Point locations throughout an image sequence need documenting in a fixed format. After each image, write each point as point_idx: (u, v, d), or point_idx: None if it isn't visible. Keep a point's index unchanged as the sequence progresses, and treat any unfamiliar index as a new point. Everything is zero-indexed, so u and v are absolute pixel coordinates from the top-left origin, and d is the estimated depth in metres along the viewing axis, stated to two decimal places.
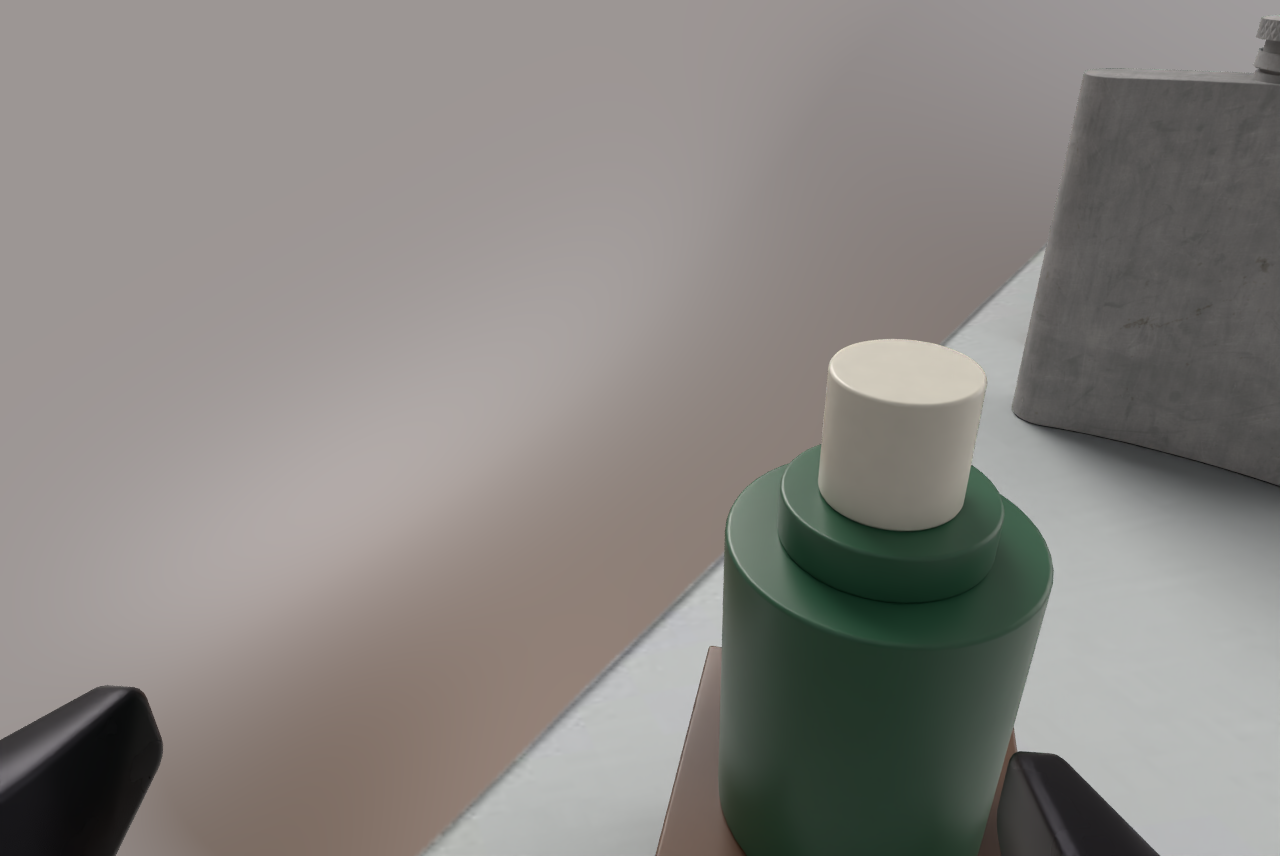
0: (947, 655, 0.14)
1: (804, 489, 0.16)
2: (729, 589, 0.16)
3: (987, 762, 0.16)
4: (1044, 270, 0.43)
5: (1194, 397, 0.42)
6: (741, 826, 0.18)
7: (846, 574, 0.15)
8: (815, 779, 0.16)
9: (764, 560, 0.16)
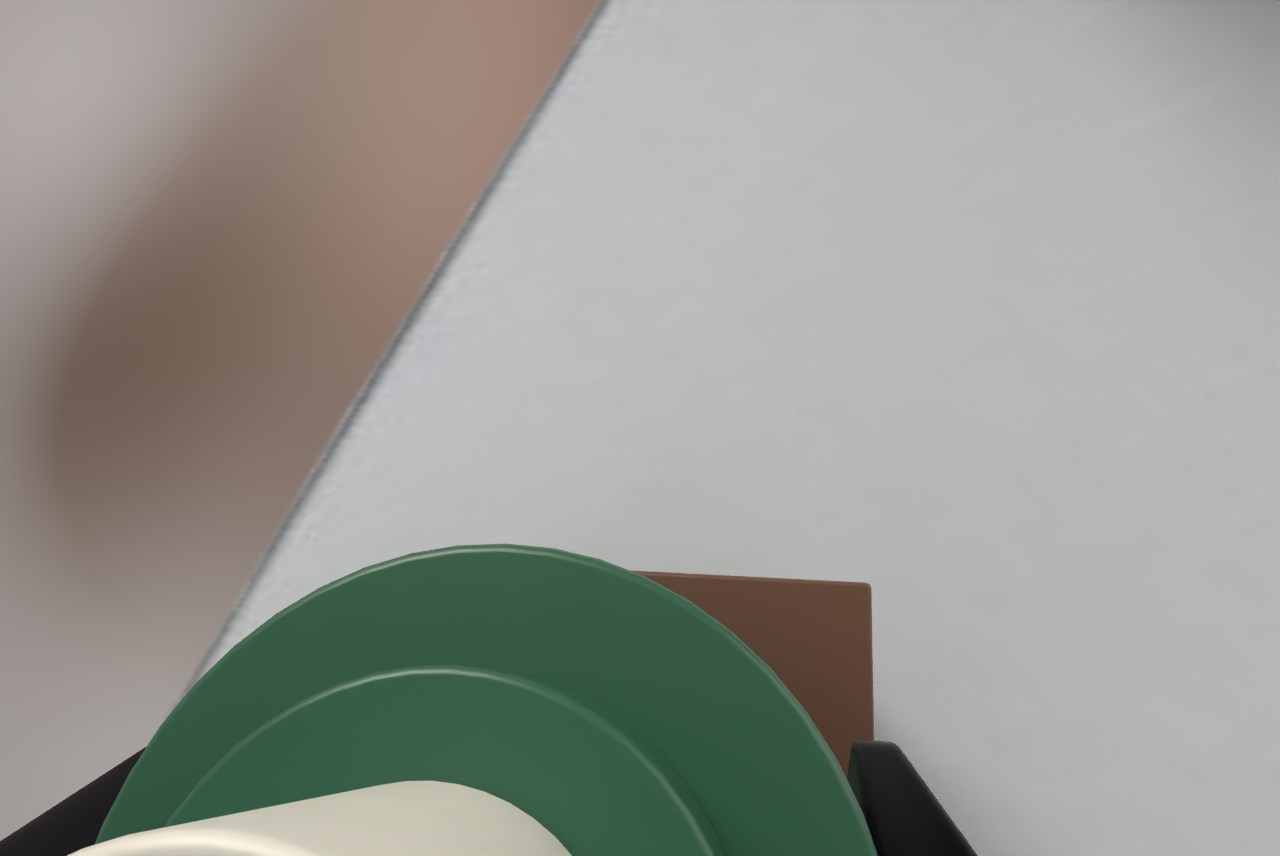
0: None
1: None
2: None
3: None
4: None
5: None
6: None
7: None
8: None
9: None
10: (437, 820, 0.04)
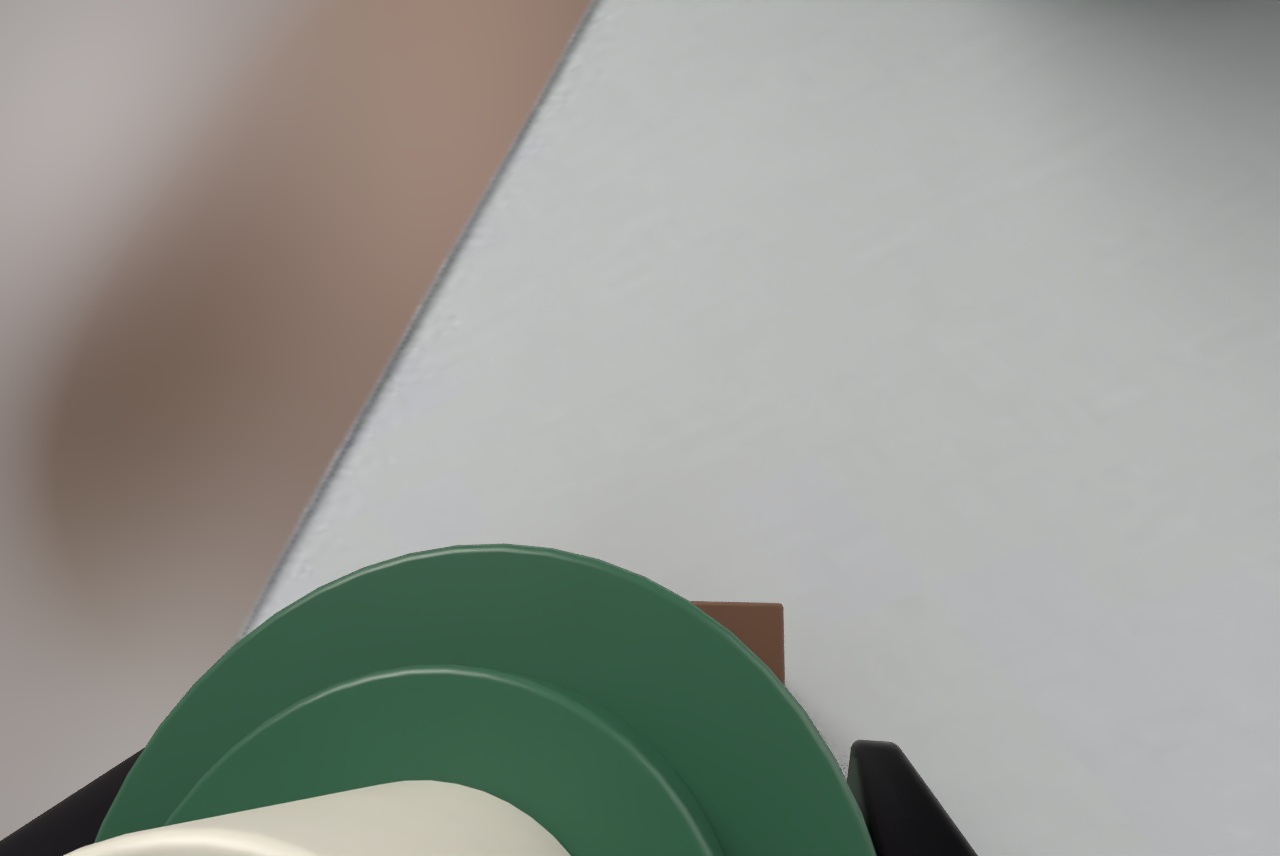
0: None
1: None
2: None
3: None
4: None
5: None
6: None
7: None
8: None
9: None
10: (435, 819, 0.04)
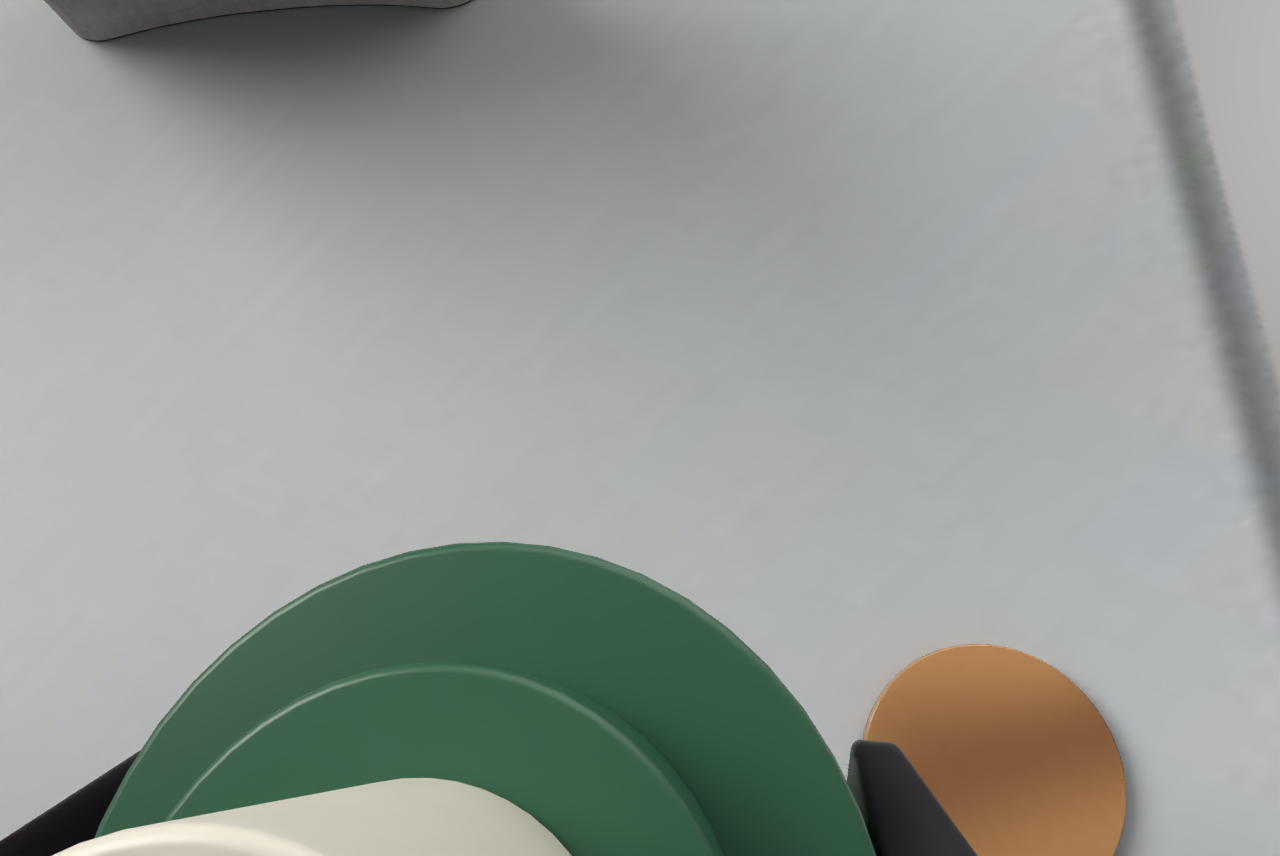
0: None
1: None
2: None
3: None
4: None
5: None
6: None
7: None
8: None
9: None
10: (435, 815, 0.04)
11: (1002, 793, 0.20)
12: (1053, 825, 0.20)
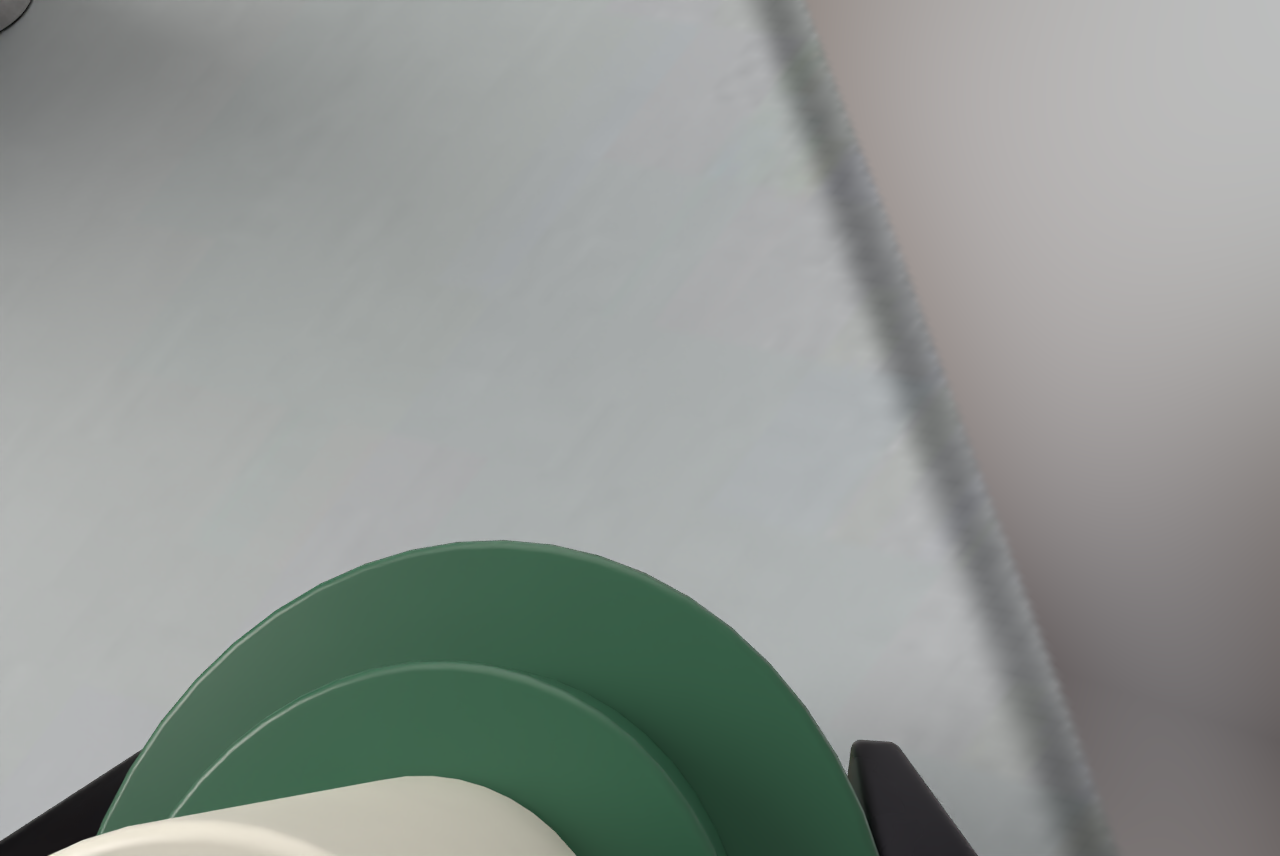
0: None
1: None
2: None
3: None
4: None
5: None
6: None
7: None
8: None
9: None
10: (437, 813, 0.04)
11: None
12: None
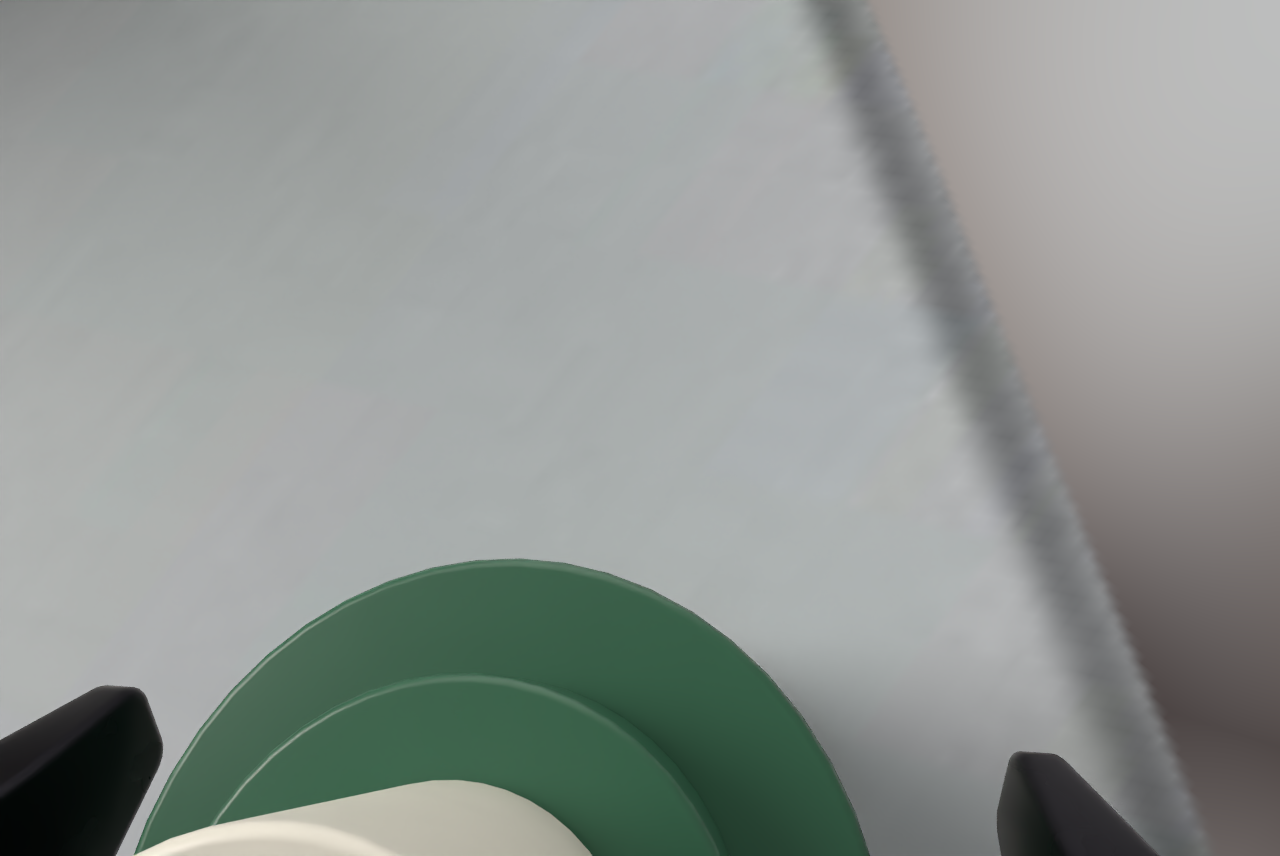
0: None
1: None
2: None
3: None
4: None
5: None
6: None
7: None
8: None
9: None
10: (469, 815, 0.05)
11: None
12: None
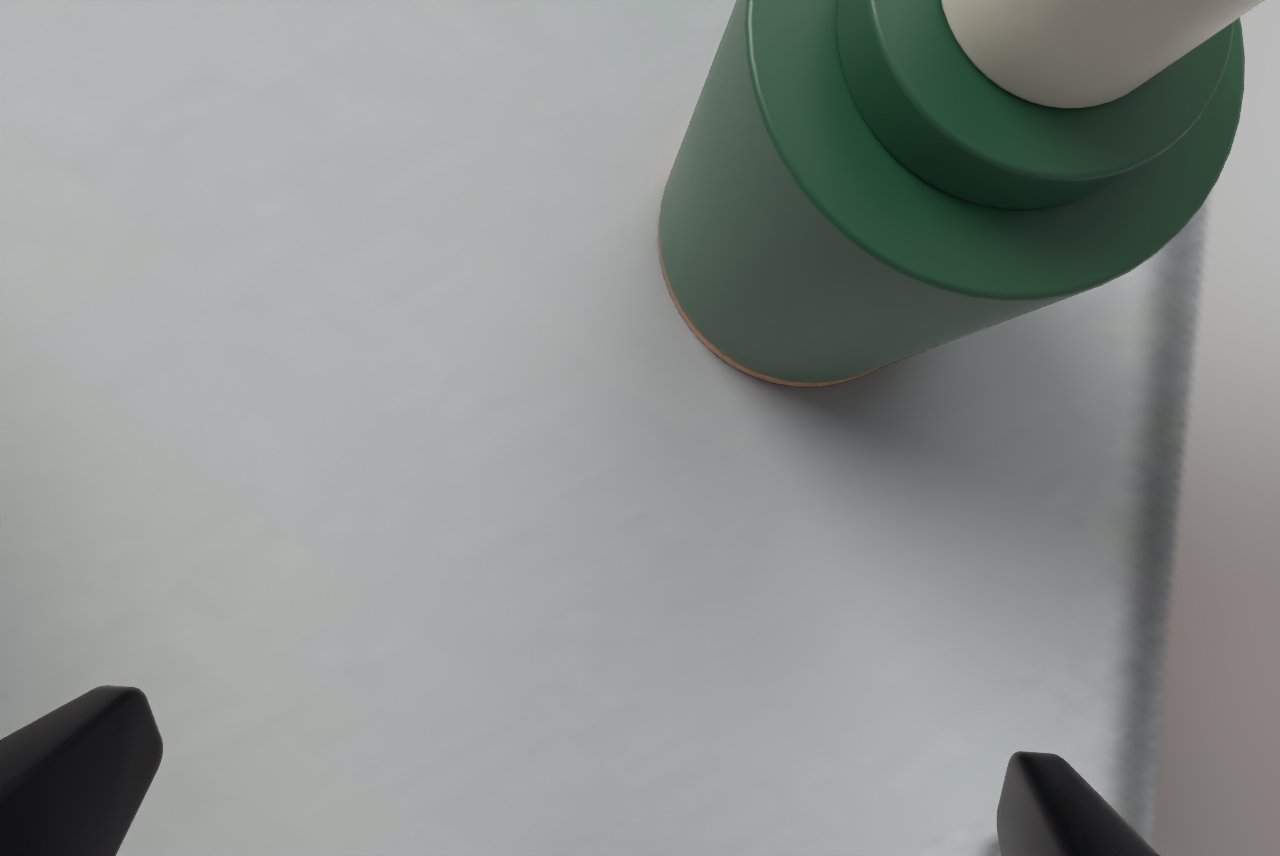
0: (987, 302, 0.10)
1: None
2: (729, 61, 0.10)
3: None
4: None
5: None
6: (672, 266, 0.16)
7: (908, 143, 0.09)
8: (763, 306, 0.13)
9: (795, 53, 0.09)
10: None
11: None
12: None
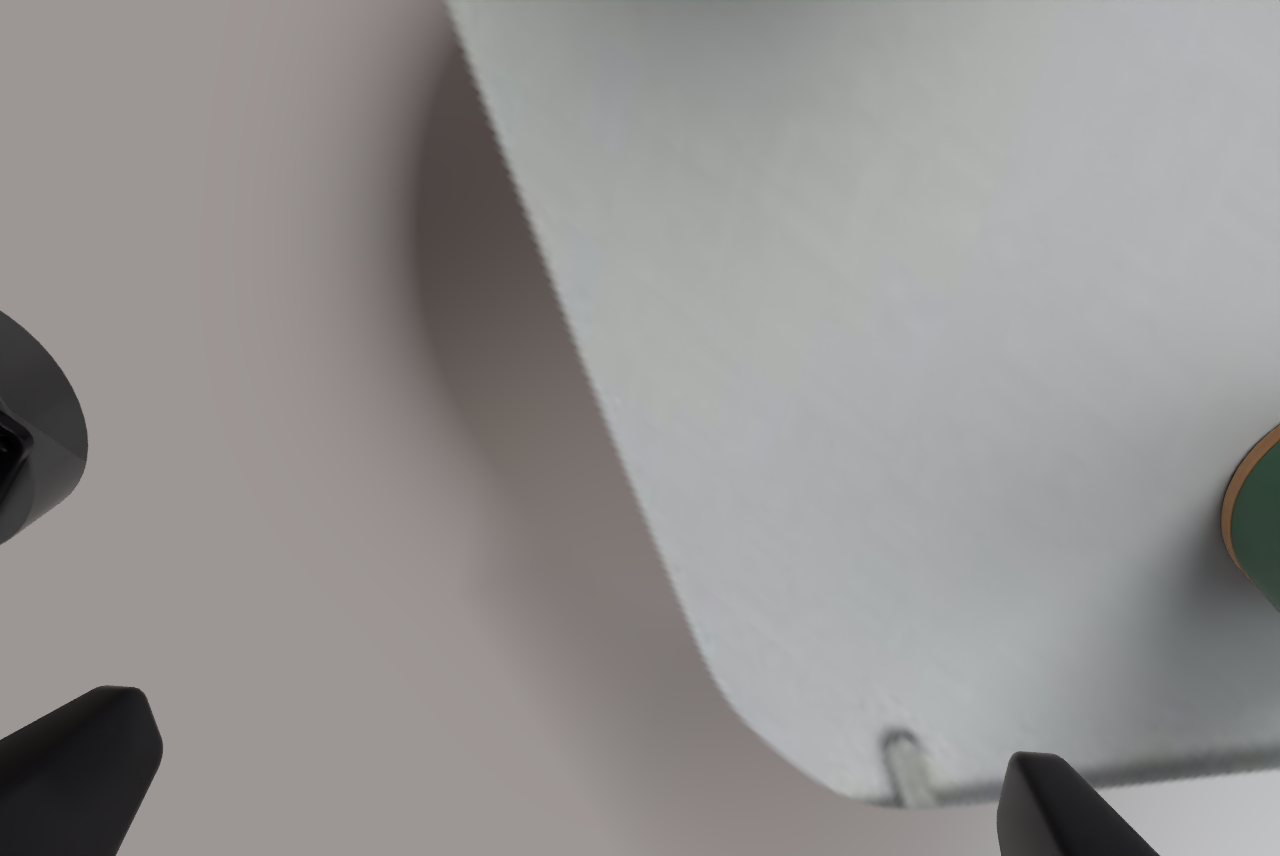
0: None
1: None
2: None
3: None
4: None
5: None
6: None
7: None
8: None
9: None
10: None
11: None
12: None
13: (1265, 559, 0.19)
